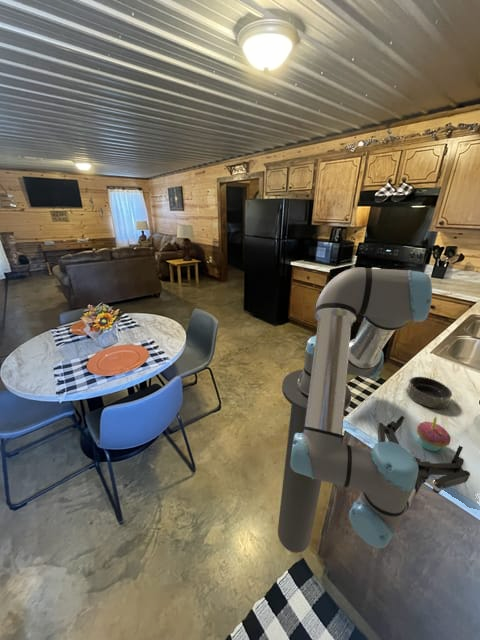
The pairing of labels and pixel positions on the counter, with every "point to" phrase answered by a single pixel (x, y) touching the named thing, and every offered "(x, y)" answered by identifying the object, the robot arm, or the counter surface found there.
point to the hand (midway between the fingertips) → (428, 433)
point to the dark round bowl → (429, 392)
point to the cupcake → (433, 435)
